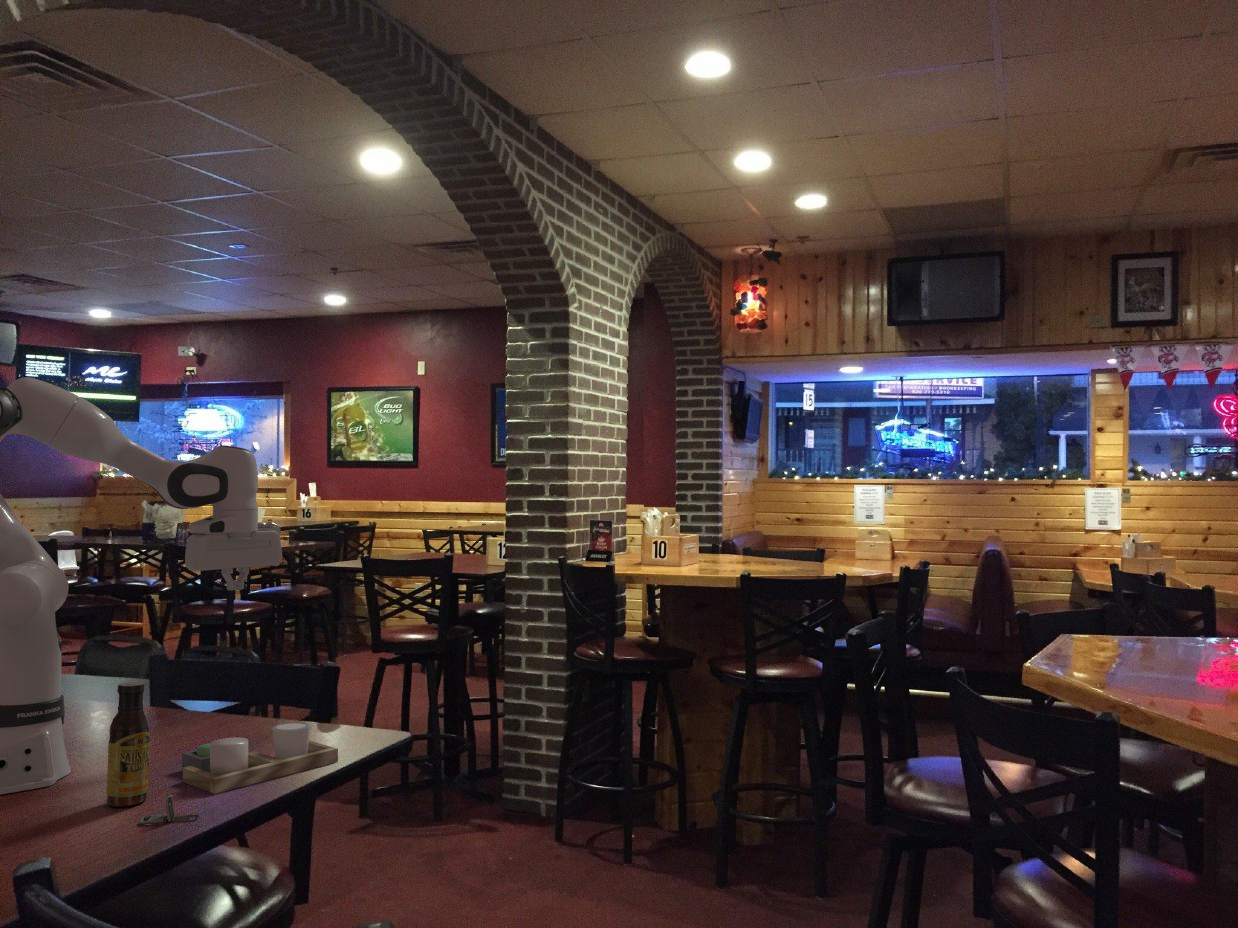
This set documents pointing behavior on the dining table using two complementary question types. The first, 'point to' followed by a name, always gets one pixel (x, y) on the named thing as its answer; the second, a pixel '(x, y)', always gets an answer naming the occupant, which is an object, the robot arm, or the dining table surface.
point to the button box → (195, 761)
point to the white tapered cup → (290, 739)
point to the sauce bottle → (128, 749)
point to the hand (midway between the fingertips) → (235, 589)
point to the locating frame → (261, 769)
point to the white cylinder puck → (228, 755)
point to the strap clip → (170, 814)
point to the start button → (203, 750)
